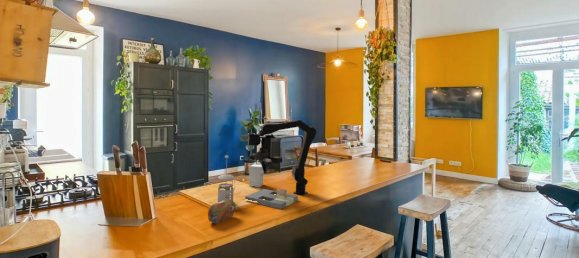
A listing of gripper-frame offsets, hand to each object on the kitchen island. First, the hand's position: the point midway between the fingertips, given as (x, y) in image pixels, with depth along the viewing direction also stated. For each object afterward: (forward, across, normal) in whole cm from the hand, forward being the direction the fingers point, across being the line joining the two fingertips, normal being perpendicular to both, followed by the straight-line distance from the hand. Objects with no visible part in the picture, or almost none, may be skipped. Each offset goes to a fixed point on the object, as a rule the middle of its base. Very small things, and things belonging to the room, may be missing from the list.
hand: (265, 173), depth 186 cm
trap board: (+12, +10, -8) cm, 18 cm away
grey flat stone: (+12, +7, -45) cm, 47 cm away
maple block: (+10, +16, -7) cm, 20 cm away
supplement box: (+12, -14, +12) cm, 22 cm away
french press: (+12, -6, -26) cm, 29 cm away
